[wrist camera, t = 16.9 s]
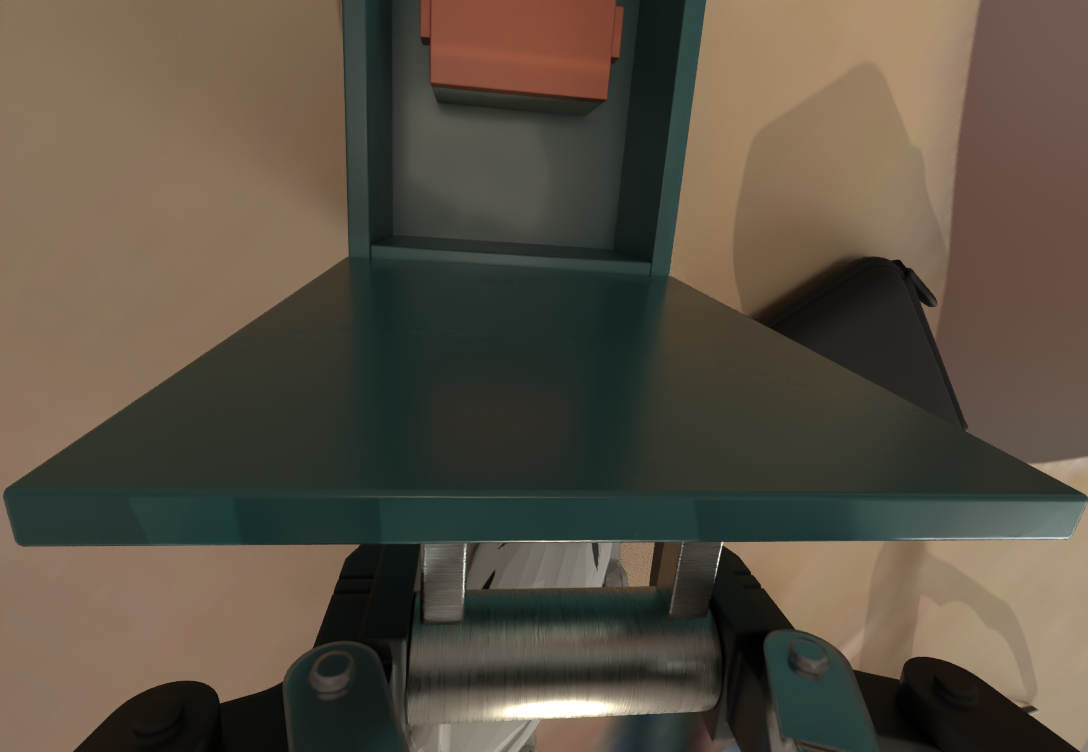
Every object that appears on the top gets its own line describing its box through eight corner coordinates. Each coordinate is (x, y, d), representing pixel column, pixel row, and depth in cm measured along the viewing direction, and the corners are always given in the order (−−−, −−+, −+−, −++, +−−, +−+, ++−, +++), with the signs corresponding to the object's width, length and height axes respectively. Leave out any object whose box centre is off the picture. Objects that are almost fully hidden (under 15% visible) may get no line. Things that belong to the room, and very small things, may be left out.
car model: (366, 760, 38) (351, 840, 33) (472, 436, 32) (472, 477, 27) (524, 781, 40) (531, 859, 35) (649, 482, 34) (678, 528, 29)
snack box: (427, 101, 26) (419, 82, 22) (428, -26, 24) (419, -73, 20) (594, 116, 27) (617, 100, 23) (604, -4, 25) (630, -45, 21)
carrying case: (965, 430, 36) (885, 227, 31) (1008, 450, 33) (928, 230, 28) (818, 518, 36) (720, 333, 32) (848, 545, 34) (744, 346, 29)
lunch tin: (374, -129, 24) (334, -264, 17) (661, -85, 26) (732, -191, 19) (378, 249, 28) (348, 264, 21) (623, 264, 30) (668, 283, 23)
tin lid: (-4, 490, 6) (95, 848, 7) (1093, 496, 7) (962, 784, 9) (346, 256, 21) (350, 390, 23) (673, 276, 23) (654, 399, 24)
